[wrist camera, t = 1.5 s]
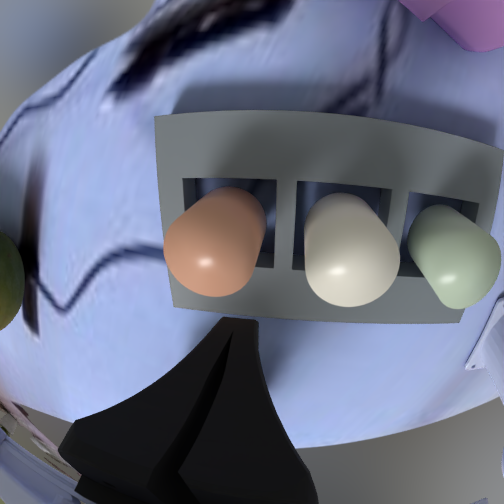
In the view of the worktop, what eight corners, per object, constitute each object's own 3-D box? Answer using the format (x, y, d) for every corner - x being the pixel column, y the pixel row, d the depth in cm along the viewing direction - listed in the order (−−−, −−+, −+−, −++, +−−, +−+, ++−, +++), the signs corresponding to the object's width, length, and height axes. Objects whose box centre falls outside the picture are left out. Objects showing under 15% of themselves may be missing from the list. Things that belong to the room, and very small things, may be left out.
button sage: (469, 208, 13) (510, 236, 9) (454, 269, 15) (485, 308, 11) (413, 200, 14) (449, 227, 10) (400, 266, 15) (425, 309, 11)
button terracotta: (267, 187, 15) (255, 211, 11) (265, 257, 16) (254, 300, 13) (193, 185, 15) (158, 208, 11) (197, 252, 17) (169, 291, 13)
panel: (486, 146, 13) (504, 150, 11) (449, 307, 18) (459, 322, 16) (169, 116, 15) (154, 116, 14) (183, 291, 20) (173, 307, 19)
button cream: (380, 196, 14) (408, 223, 10) (369, 264, 16) (388, 308, 12) (306, 189, 14) (309, 214, 11) (301, 260, 16) (300, 304, 12)
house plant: (-9, 395, 58) (-30, 423, 43) (12, 413, 57) (-9, 444, 42) (8, 416, 64) (-10, 443, 50) (29, 433, 63) (11, 462, 49)
